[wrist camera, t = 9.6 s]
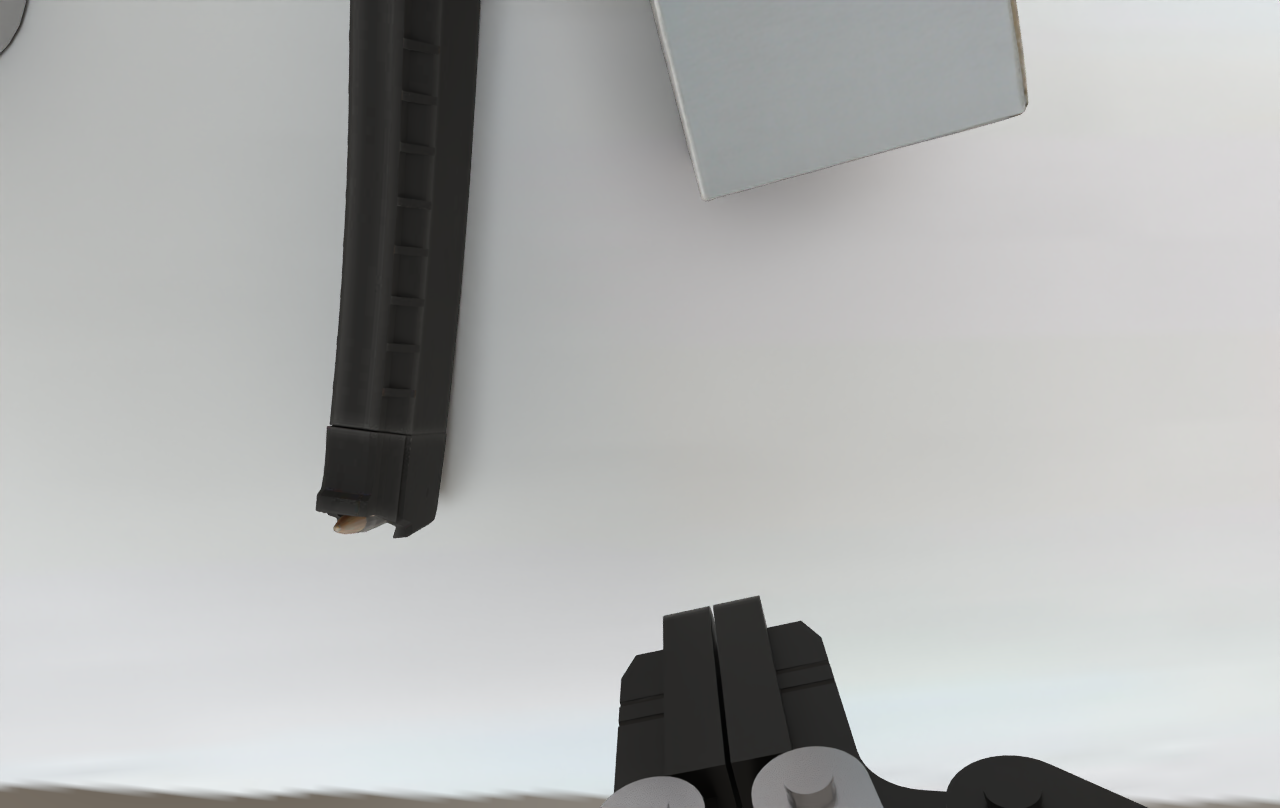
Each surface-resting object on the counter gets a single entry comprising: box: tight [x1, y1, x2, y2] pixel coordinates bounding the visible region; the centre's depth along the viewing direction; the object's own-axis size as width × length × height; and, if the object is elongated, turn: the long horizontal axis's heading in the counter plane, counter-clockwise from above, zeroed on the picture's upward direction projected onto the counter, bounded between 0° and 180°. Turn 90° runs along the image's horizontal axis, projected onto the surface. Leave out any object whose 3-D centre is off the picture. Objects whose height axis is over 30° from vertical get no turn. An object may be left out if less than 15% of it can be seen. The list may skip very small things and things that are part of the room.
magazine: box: [316, 0, 480, 538], centre depth 34 cm, size 17×3×30 cm
